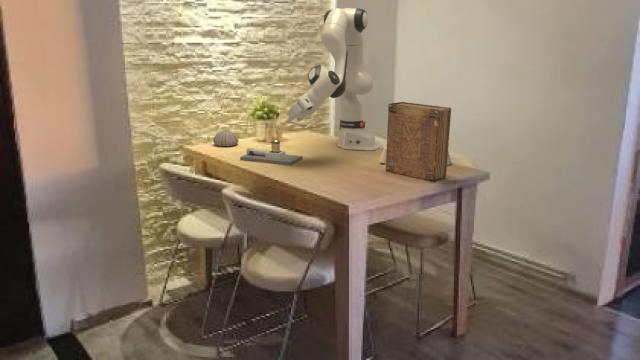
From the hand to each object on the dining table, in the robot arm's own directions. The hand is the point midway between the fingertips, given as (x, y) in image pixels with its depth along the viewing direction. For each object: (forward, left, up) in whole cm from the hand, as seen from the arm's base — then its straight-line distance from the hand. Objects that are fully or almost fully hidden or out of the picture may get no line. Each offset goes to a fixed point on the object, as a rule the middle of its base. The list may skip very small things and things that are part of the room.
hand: (293, 121), depth 254 cm
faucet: (-44, -20, -20) cm, 52 cm away
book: (-58, 0, -19) cm, 61 cm away
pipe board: (+11, +1, -19) cm, 22 cm away
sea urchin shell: (+48, -19, -19) cm, 55 cm away
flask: (-66, -25, -19) cm, 73 cm away
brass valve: (+9, +1, -18) cm, 20 cm away
